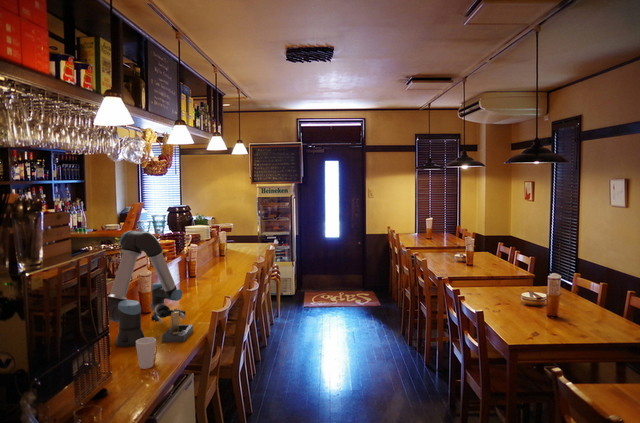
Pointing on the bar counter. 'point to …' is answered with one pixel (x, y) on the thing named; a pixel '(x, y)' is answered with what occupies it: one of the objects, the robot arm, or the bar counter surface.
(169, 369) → the bar counter surface
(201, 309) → the bar counter surface
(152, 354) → the foam cup
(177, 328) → the brass post
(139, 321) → the robot arm
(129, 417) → the bar counter surface
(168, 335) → the keyhole plate
